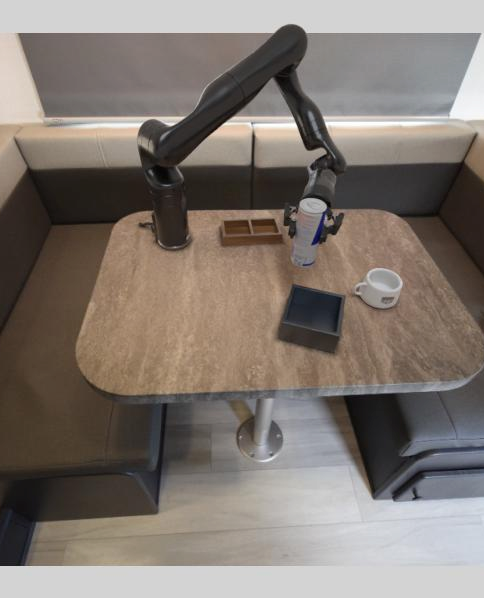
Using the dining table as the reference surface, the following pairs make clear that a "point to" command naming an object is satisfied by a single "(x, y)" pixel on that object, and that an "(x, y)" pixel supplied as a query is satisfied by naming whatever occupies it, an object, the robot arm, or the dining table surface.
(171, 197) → the robot arm
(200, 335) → the dining table surface
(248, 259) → the dining table surface
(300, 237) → the beverage can
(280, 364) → the dining table surface
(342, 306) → the dark gray square box
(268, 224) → the wooden divided tray
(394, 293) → the mug
